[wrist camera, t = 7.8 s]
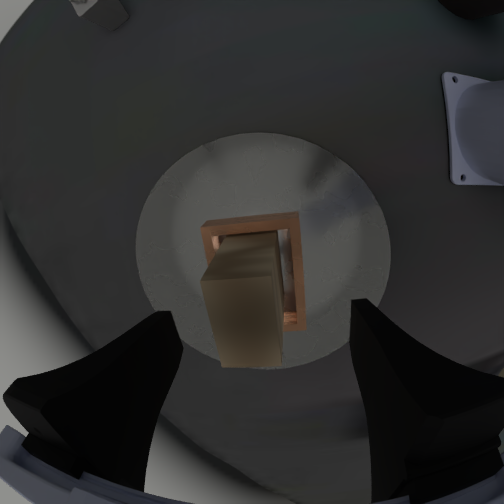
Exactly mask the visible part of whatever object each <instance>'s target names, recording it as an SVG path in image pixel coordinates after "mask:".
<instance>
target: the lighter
mask: <svg viewBox="0 0 504 504" xmlns="http://www.w3.org/2000/svg"><path fill="white" fill-rule="evenodd" d="M69 1H70V2H71V3H72V5H73V7H74V9H75V10H76V12H77V14H78V16H79V17H81V18H84V19H86V20H89V21H91V22H93V23H96V24H98V25H100V26H102V27H105V28H107V29H109V30H111V31H114V30H115V29H117V28H118V27H119V26H120V25H122V24H123V23H124V22H125V21H127V20H128V19H129V15H128V13H127V12H126V10H125V9H124V7H123V6H122V4H121V3H120V1H119V0H69Z"/></svg>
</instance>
